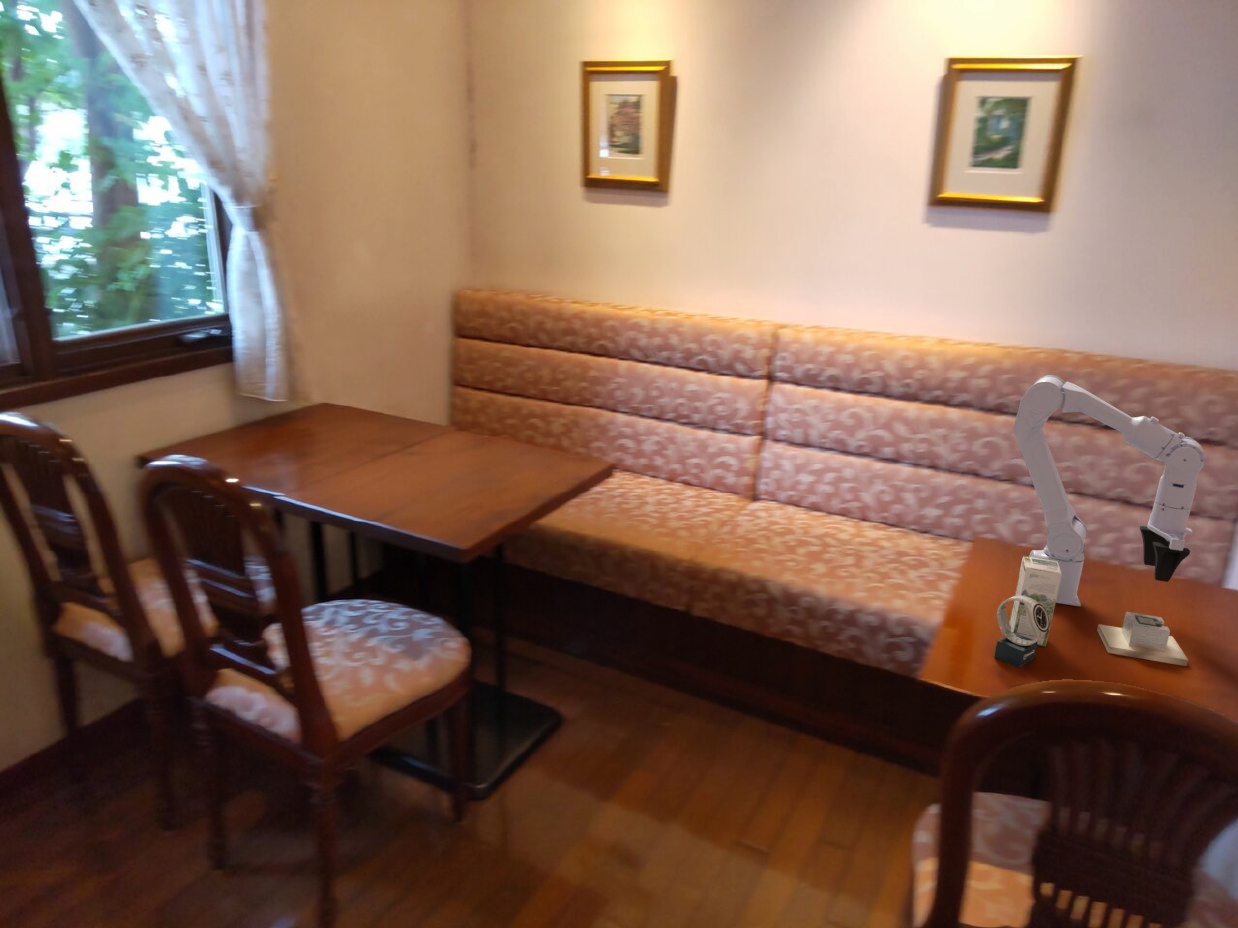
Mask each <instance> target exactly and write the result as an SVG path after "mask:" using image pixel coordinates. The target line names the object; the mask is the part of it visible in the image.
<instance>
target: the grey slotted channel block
mask: <svg viewBox="0 0 1238 928" xmlns="http://www.w3.org/2000/svg"><path fill="white" fill-rule="evenodd" d="M1137 617H1142V618H1148V619H1153V621H1157V622H1162V624H1163V626H1161V627H1156V626H1150V625H1144V624H1139V623H1138V622H1137ZM1121 628H1122V631H1121V632H1122V634H1123V636H1124V638H1125V640H1126V642H1127V644H1128V646H1133V647H1138V648H1144V649H1150V650H1156V651H1161V652H1165V650H1166V646H1167V642H1168V638H1169V636H1170V633H1171V631H1170V630H1171V629H1170V628H1169V627H1168V626H1165V621H1164V619H1163V618H1162V617H1161V616H1155V615H1149V614H1143V613H1137V612H1130V611H1126V612H1125V614H1124V619H1123V624H1122V627H1121Z"/></svg>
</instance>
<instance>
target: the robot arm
mask: <svg viewBox="0 0 1238 928" xmlns="http://www.w3.org/2000/svg"><path fill="white" fill-rule="evenodd" d="M1060 407H1063V408H1062V410H1061V413H1063V414H1064V413H1066V414H1067V413H1078V412H1079V413H1082V414H1084V415H1087V416H1088V417H1090V418H1092V419H1094V420H1096V421H1098V422H1100V423H1102V424H1104V425H1107V426H1108V427H1109V428H1112V429H1114V430H1116V431H1118V432H1120V433H1121V434H1122V439H1123V442H1124V443H1125V444H1127V445H1129V446H1131V447H1132V448H1135V449H1136V450H1138V451H1140V452H1141V453H1144V454H1145V455H1147V456H1149V457H1150V458H1152V459H1154V460H1156V461H1161V462H1164V469H1163V473H1162V475H1161V477H1160V478H1159V482H1158V486H1157V490H1156V494H1155V498H1154V503H1153V506H1152V511H1151V513H1149V514H1150V515H1149V519H1148V522H1147V525H1146V526H1144V525H1140V526H1139V530H1140V533H1141V534H1140V535H1141V538H1142V545H1143V546H1142V548H1143V552H1142V553H1143V564H1144V565H1145V566H1152V567H1154V579H1155V581H1158V582H1159V581H1160V582H1166V583H1168V582H1170V580H1171V578H1172V577H1173V575H1174V574H1175V572H1176V570H1177V568H1178V567H1179V565H1180V564H1181V563H1182V562H1183V561H1184V560H1185V559H1186V558H1188V557H1189V556H1190V554H1191V550H1190V549H1189V548H1188V547H1185V543H1186V540H1185V537H1186V535H1188V536H1189V535H1190V536H1191V535H1193V530H1192V529H1191V528H1189V527H1187V525H1188V521H1189V517H1190V513H1191V510H1192V506H1193V501H1194V498H1195V495H1196V491H1197V486H1198V482H1197V481H1198V479H1199V476H1200V471H1201V470H1202V469H1203V468H1204V466H1205V464H1206V462H1205V455H1204V454H1205V452H1204V449H1203V447H1202V446H1201V444H1200V443H1199V442H1198V441H1196V440H1195V439H1194V438H1193V437H1192V436H1191V437H1189V436H1185V434H1184V433H1183V432H1181V431H1180V432H1178V433H1177V432H1175V431H1173V430H1171V429H1169V428H1167V427H1166V426H1164V425H1163V424H1160V420H1159V419H1158V418H1157V417H1155V416H1151V417H1150V418H1149V417H1148V416H1146V415H1142V416H1137V417H1132V416H1130V415H1128V414H1127V413H1125V412H1124V411H1122V410H1120V409H1119V408H1117V407H1115V406H1114V405H1112V404H1111V403H1108V402H1106V401H1105V400H1104V399H1102V398H1100V397H1099V396H1097V395H1095V394H1093V393H1091V392H1089V391H1087V389H1084V387H1083V388H1082V387H1081V386H1078V385H1077V384H1075V383H1073V382H1070V381H1064V379H1062V378H1061V377H1059V376H1056V375H1045V376H1044V375H1043V376H1041V377H1040V378H1038V379H1037V380H1036V381H1035V382H1034V384H1032V385H1030V387H1029V388H1027V390H1026V392H1025V393H1024V394H1023V396H1022V397H1021V398H1020V401H1019V407H1018V410H1017V412H1016V417H1015V420H1014V422H1013V427H1012V429H1013V433H1014V435H1015V439H1016V441H1017V444H1018V446H1019V449H1020V452H1021V454H1022V457H1023V460H1024V462H1025V465H1026V468H1027V471H1028V474H1029V477H1030V480H1031V481H1032V483H1033V484H1032V485H1033V487H1034V490H1035V493H1036V494H1037V497H1038V501H1039V503H1040V505H1041V508H1042V512H1043V514H1044V524H1045V528H1046V529H1045V530H1046V531H1047V540H1046V545H1045V546H1044V547H1043V549H1039V550H1037V549H1036V550H1035V549H1033V550H1031V551H1030V553H1029V556H1028V557H1033V558H1040V559H1046V560H1053V561H1057V562H1058V564H1059V567H1060V570H1061V573H1062V577H1061V581H1060V586H1059V590H1058V594H1057V599H1056V603H1055V604H1062V605H1069V606H1074V607H1081V606H1082V603H1081V601H1080V599H1079V597H1078V595H1077V594H1078V588H1079V584H1080V580H1081V575H1082V572H1083V571H1082V570H1083V567H1084V563H1085V562H1084V561H1085V557H1086V556H1085V554H1084V553H1083V550H1084V548H1085V545H1084V543H1085V541H1086V540H1087V538H1088V534H1089V533H1088V527H1087V524H1086V523H1084V521H1083V520H1081V519H1080V517H1079V516H1078V515H1077V513H1076V511H1075V508H1074V507H1073V505H1072V504H1071V503H1070V501H1069V498H1068V496H1067V492H1066V489H1065V487H1064V484H1063V482H1062V479H1061V476H1060V474H1059V471H1058V468H1057V465H1056V463H1055V460H1054V458H1053V455H1052V451H1051V450H1050V446H1049V444H1048V441H1047V439H1046V435H1045V433H1044V430H1043V428H1044V426H1045V424H1046V422H1047V421H1048V420H1049V418H1050V417H1051V416H1052V415H1053V414H1054V413H1055V412H1056V411H1058V410H1059V409H1060Z"/></svg>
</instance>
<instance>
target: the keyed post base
mask: <svg viewBox="0 0 1238 928" xmlns="http://www.w3.org/2000/svg"><path fill="white" fill-rule="evenodd" d="M1137 622H1138V623H1139V624H1144V625H1150V626H1156V627H1161V626H1164V625H1163V624H1162V622H1157V621H1153V619H1148V618H1142V617H1137ZM1096 631H1097V633H1098V635H1099V637H1100V639H1101V640H1102V643H1103V645H1104V648H1105V649H1106V651H1107V653H1108V654H1113V655H1114V654H1115V655H1118V656H1124V657H1130V658H1137V659H1143V660H1147V661H1148V660H1149V661H1154V662H1158V663H1159V662H1160V663H1164V664H1165V663H1166V664H1172V665H1177V666H1181V667H1182V666H1183V667H1187V666H1188V662H1189V658H1188V657H1187V656H1186V654H1185V653H1184V651H1183V650H1182V648H1181V647H1180V646H1179V644H1178V642H1177V641H1176V639H1175V638H1174V637H1173V636H1172V635H1169V638H1168V642H1167V646H1166V650H1165V652H1161V651H1156V650H1150V649H1144V648H1138V647H1133V646H1128V644H1127V642H1126V640H1125V638H1124V636H1123V634H1122V632H1121V631H1122V627H1118V626H1111V625H1106V624H1101V623H1099V624H1098V625H1097V630H1096Z"/></svg>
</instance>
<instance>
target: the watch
mask: <svg viewBox="0 0 1238 928" xmlns="http://www.w3.org/2000/svg"><path fill="white" fill-rule="evenodd" d="M1014 600H1015V601H1016V600H1017V601H1020V602H1023V603H1025V604H1024V607H1025V609H1026V618H1027V622H1028V624H1029V627H1030V628H1031V629H1032V631H1034V635H1035V638H1036V639H1035V640H1032V639H1029V638H1027V637H1024V636H1022V635H1019V634H1017V633H1014V632H1012V631H1011V629H1012V628H1011V626H1010V623H1009V622H1010V619H1009V618H1008V617H1009V616H1008V611H1007V604H1008V603H1009V602H1012V601H1014ZM996 618H997V624H998V626H999V629H1000V631H1001V634H1002V635H1004V636H1003V637H1001V638H1000V639H998V640H996V641H997V642H996V646H995V651H994V656H993V658H994V659H996V660H997V659H998V660H1000V661H1002V662H1004V663H1007V664H1009V665H1011V666H1013V667H1015V668H1018V669H1020V668H1021V667H1023V666H1025V665H1026V664H1028V663H1030V662H1031V661H1033V660H1034V659H1035V656H1036V653H1037V652H1036V651H1037V647H1038V645H1037V643H1038V642H1037V641H1038V640H1040V639H1041V638H1042V637H1044V635H1045V633H1046V632H1047V631H1048V629H1049V617H1048V614H1047V611H1046V609H1045V608H1044V606H1043V605H1042V604H1040V603H1038V602H1037V601H1036V600H1034V599H1032V598H1030V597H1027V596H1023V595H1018V596H1015V595H1013V596H1011V597H1009V598H1007V599H1005V600H1003V601H1002V602H1001V603H1000V604H999V606H998V608H997V612H996Z"/></svg>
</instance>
